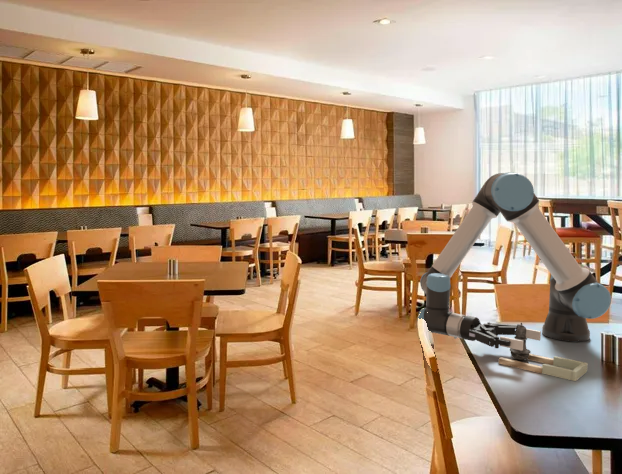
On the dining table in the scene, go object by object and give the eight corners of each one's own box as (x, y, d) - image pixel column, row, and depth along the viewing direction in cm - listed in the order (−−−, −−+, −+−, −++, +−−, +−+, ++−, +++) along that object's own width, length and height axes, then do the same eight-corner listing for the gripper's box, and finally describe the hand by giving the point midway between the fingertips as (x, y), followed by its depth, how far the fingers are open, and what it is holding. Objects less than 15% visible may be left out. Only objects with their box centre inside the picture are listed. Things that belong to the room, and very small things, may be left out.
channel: (498, 363, 162) (498, 358, 162) (513, 354, 170) (513, 350, 170) (541, 373, 154) (541, 368, 154) (554, 364, 162) (555, 359, 162)
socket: (541, 373, 154) (542, 364, 154) (554, 364, 162) (555, 356, 161) (575, 381, 148) (576, 372, 148) (587, 371, 156) (587, 363, 155)
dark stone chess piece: (531, 366, 160) (534, 325, 159) (510, 364, 161) (512, 324, 160) (528, 359, 166) (530, 320, 164) (507, 358, 167) (509, 319, 166)
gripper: (481, 330, 184) (546, 344, 170) (444, 347, 166) (514, 363, 152) (482, 309, 183) (547, 320, 169) (445, 322, 165) (515, 336, 151)
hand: (531, 340), depth 160 cm, fingers open, 13 cm apart
